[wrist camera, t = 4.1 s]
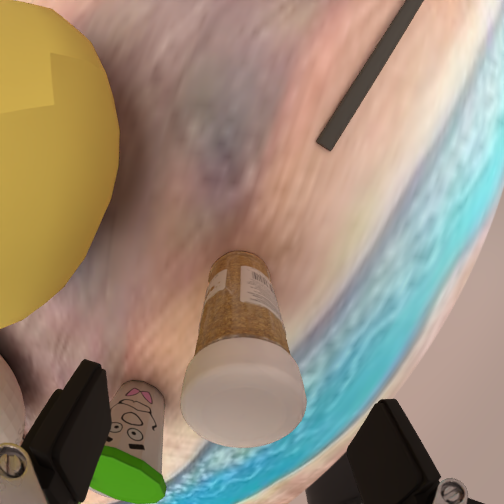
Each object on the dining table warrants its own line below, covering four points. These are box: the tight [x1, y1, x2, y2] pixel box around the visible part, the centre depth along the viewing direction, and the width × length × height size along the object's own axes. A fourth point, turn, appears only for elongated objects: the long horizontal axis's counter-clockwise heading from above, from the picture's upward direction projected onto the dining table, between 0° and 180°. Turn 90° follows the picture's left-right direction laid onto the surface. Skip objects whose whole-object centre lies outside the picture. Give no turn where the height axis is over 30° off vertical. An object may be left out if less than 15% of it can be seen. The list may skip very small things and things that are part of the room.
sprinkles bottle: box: [180, 251, 307, 448], centre depth 16 cm, size 5×5×13 cm
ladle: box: [317, 0, 424, 151], centre depth 16 cm, size 8×31×4 cm, turn 150°
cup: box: [78, 380, 166, 504], centre depth 18 cm, size 8×8×15 cm
